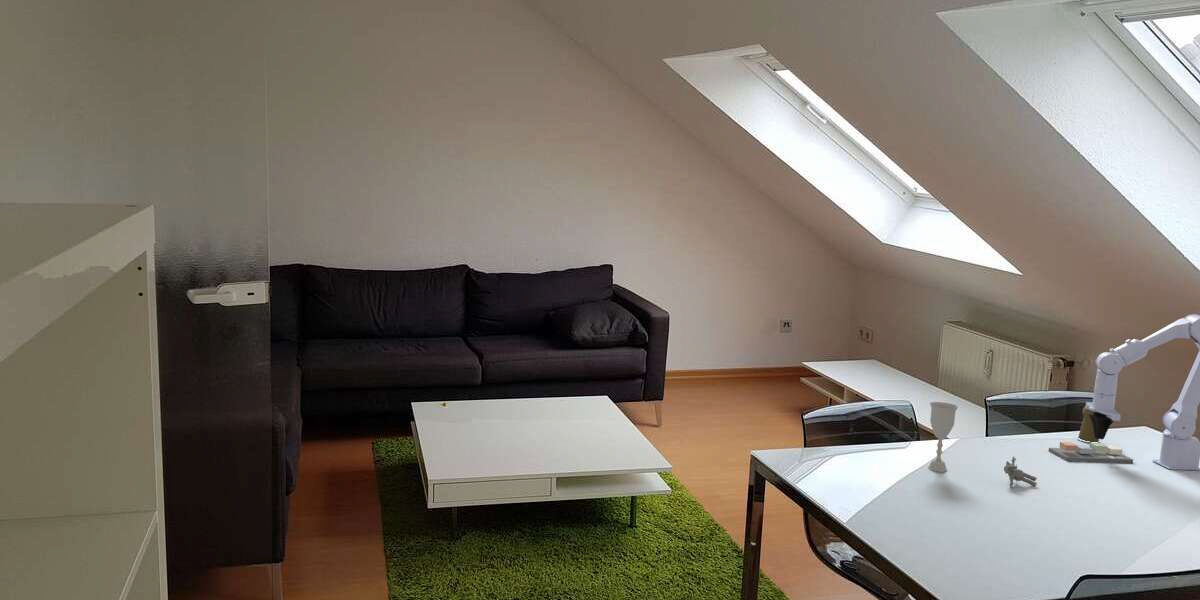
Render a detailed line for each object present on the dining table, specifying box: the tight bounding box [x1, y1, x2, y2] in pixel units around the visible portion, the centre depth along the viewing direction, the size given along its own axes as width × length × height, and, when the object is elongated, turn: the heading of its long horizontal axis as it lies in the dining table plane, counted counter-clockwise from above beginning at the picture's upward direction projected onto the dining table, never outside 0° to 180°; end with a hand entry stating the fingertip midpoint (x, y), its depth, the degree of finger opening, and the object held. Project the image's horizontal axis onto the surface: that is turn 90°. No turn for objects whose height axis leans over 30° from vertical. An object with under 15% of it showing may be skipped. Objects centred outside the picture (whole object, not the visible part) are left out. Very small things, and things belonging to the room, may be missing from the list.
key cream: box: [1107, 445, 1123, 455], centre depth 286 cm, size 3×3×2 cm
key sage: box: [1088, 442, 1109, 452], centre depth 285 cm, size 3×3×2 cm
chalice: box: [927, 401, 959, 473], centre depth 265 cm, size 7×7×18 cm
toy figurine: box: [1003, 456, 1038, 488], centre depth 255 cm, size 10×6×9 cm
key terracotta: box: [1058, 441, 1078, 451], centre depth 285 cm, size 3×3×2 cm
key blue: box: [1076, 444, 1092, 454], centre depth 285 cm, size 3×3×2 cm
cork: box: [1077, 405, 1100, 442], centre depth 303 cm, size 6×6×11 cm
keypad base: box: [1048, 447, 1134, 464], centre depth 285 cm, size 20×10×1 cm, turn 94°
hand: (1099, 438), depth 285 cm, fingers closed
